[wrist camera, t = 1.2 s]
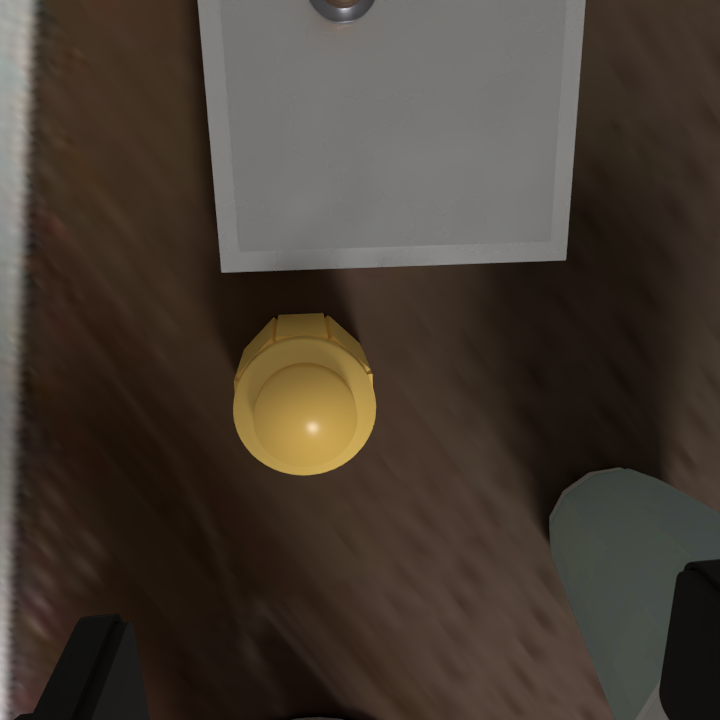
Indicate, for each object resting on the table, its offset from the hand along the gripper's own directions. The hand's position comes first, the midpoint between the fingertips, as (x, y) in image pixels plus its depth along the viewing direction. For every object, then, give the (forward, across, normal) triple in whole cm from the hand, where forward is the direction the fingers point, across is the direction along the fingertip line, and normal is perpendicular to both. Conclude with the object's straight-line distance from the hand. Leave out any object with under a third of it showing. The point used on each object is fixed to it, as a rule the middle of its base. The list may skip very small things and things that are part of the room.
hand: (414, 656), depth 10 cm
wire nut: (+18, +2, +1) cm, 18 cm away
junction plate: (+18, -2, -12) cm, 22 cm away
